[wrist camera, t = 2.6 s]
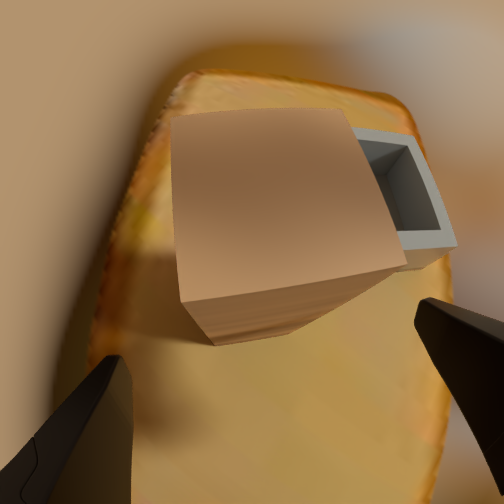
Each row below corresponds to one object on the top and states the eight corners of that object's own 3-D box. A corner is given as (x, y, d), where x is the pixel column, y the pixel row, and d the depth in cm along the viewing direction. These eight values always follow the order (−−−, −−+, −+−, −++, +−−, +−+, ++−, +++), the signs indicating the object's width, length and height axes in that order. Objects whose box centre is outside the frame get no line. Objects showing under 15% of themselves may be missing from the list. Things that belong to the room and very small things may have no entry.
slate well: (421, 269, 20) (457, 246, 16) (310, 280, 19) (333, 254, 15) (390, 169, 23) (413, 135, 19) (289, 164, 22) (301, 123, 18)
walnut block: (288, 334, 17) (407, 264, 5) (215, 346, 17) (180, 302, 5) (274, 266, 19) (341, 109, 7) (204, 275, 18) (170, 117, 6)
